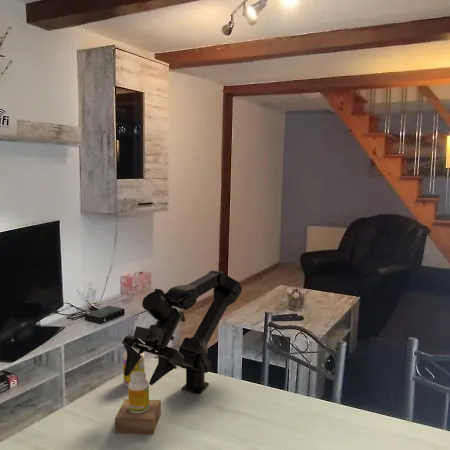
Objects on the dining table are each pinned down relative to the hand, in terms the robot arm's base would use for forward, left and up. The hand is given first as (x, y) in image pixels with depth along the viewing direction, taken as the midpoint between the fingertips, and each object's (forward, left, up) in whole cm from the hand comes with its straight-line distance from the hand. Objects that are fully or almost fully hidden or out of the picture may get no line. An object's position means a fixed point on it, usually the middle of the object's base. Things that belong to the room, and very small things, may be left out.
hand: (137, 380), depth 126 cm
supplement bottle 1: (-19, -14, -12) cm, 27 cm away
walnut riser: (0, 0, -12) cm, 12 cm away
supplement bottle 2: (0, 0, -8) cm, 8 cm away
